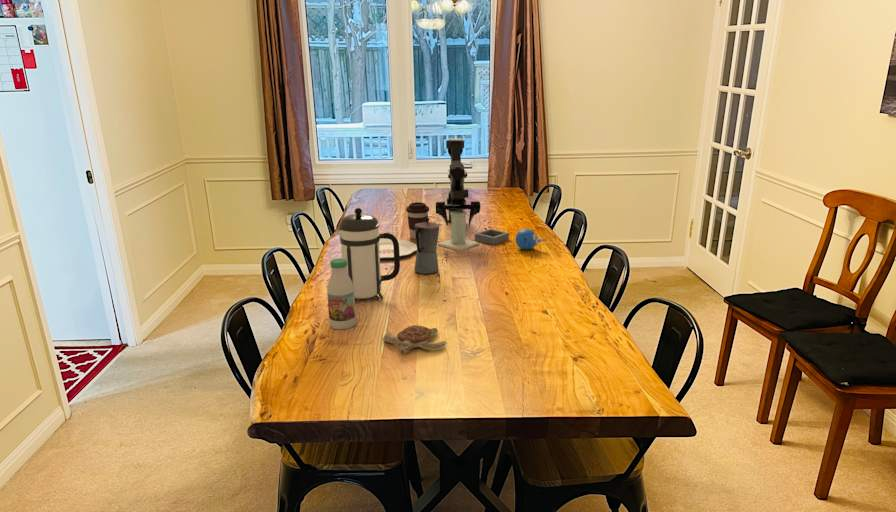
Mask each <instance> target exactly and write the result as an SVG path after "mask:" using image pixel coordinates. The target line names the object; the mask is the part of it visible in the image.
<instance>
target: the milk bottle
mask: <svg viewBox="0 0 896 512" xmlns="http://www.w3.org/2000/svg"><path fill="white" fill-rule="evenodd" d="M329 263H330V265H329V266H330V269H331V274H330V277H329V279H328V282H327V289H326V291H327V292H326V293H327V295H326V297H327V307H328V309H327V310H328V318H329V319H328V320H329V322H328V323H329V326H330V327H331V328H332V329H335V330H348V329H351V328H353V327H355V325H356V324H357V311H356V300H355V296H354V287H353V283H352V281H351V279H350V277H349V275H348V273H347V270H346V268H347V261H346V259H342V257H339V258H334V259H331V260H330V262H329Z"/></svg>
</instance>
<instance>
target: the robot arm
mask: <svg viewBox="0 0 896 512" xmlns="http://www.w3.org/2000/svg"><path fill="white" fill-rule="evenodd" d="M445 144H446V145H445V147H446V149H447V153H448V155H449V157H450V164H449V170H447V172H448V173H447V178H448V179H449V181H450V190H449V192H448V193H447V194H448V195H447V197H446V201H436V202H435V214H437V215H438V216H441V217H442V218H443V220H444V222H445V225H446V226H449V223H450V224H451V215H450V212H452V211H466V210H469V218H468V225H469V226H470V225H471V223H472V220H473V219H474V217H475V215H477V214H480V212H481V202H480V201H479V200H471V201H470V204H467V201H466V199H468V198H469V189H464V188H465V186H464V184H465V179H466V178H467V177H468V172H467V170H466V169H465V166H464V164H463V163H462V159H461V156H462V154H463V151H464V150H463V149H465V140H463V139H462V138H455V137H453V138H448V140H446V141H445ZM447 211H448V216H447Z"/></svg>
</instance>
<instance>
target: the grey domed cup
mask: <svg viewBox="0 0 896 512" xmlns="http://www.w3.org/2000/svg"><path fill="white" fill-rule="evenodd" d="M450 215H451V223H450V230H451V232H450V234H451V235H450V237H451V238H450V239H451V243H452V244H456V245H461V244H465V243H466V239H467V238H466V231H467V229H466V228H467V227H466V226H467V225H466V224H467V223H466V222H467V221H466V219H467V216H466V215H467V211H466V210H463V211H452V212H450Z"/></svg>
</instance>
